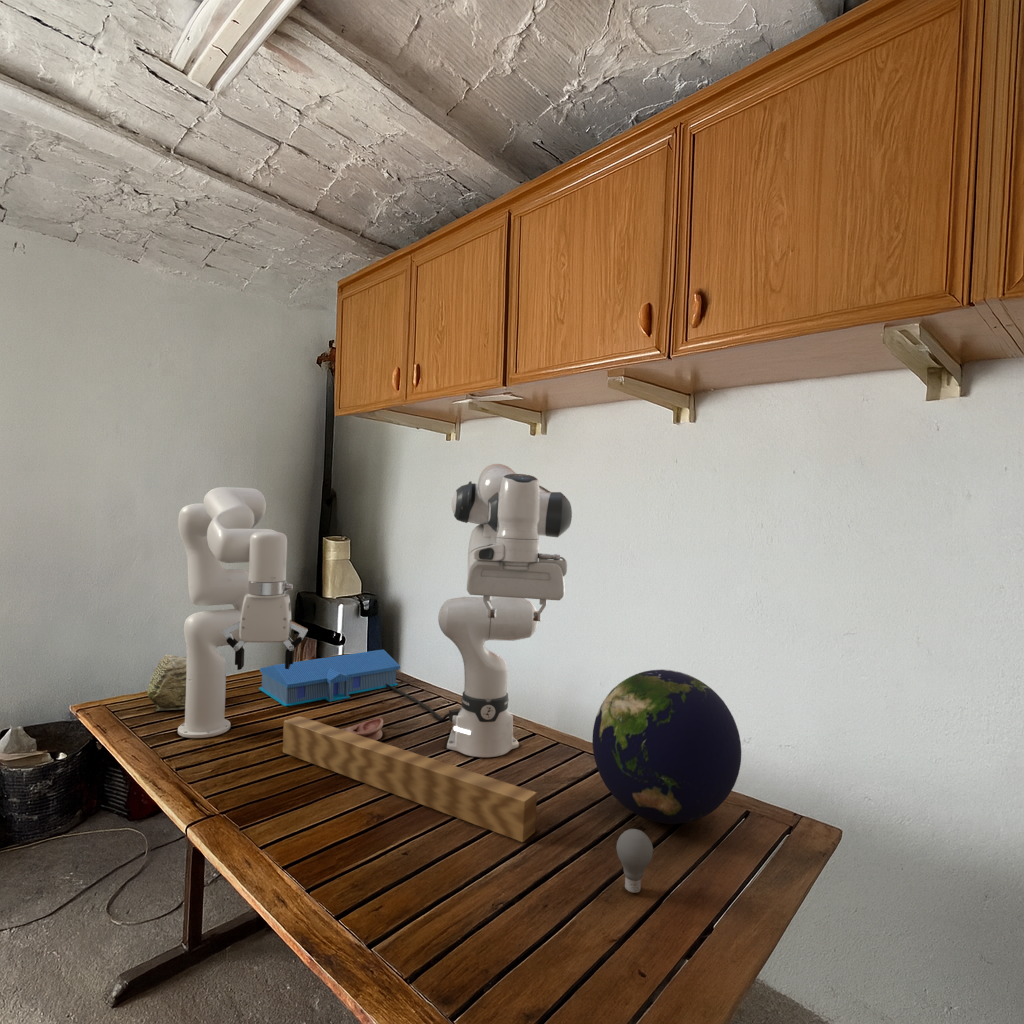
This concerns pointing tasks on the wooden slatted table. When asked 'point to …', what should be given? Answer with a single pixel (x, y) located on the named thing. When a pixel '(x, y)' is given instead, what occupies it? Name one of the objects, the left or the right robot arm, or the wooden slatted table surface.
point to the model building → (329, 677)
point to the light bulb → (634, 857)
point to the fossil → (169, 683)
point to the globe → (666, 746)
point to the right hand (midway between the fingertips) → (514, 619)
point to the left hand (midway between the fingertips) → (264, 667)
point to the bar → (415, 777)
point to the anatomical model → (368, 729)
